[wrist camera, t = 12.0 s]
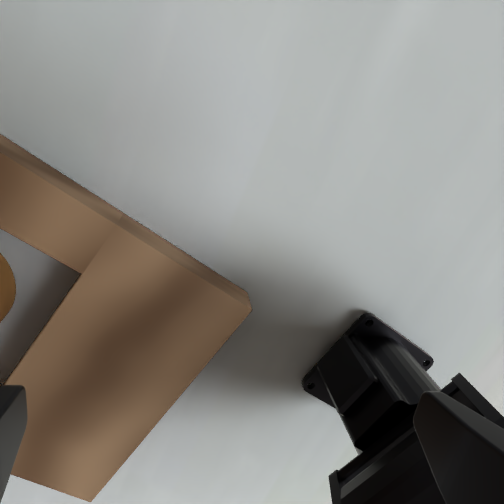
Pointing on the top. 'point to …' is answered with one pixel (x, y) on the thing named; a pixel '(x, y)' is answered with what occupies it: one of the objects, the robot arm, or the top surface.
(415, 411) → the robot arm
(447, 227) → the top surface
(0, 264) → the orange round cylinder
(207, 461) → the top surface
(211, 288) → the wooden frame
